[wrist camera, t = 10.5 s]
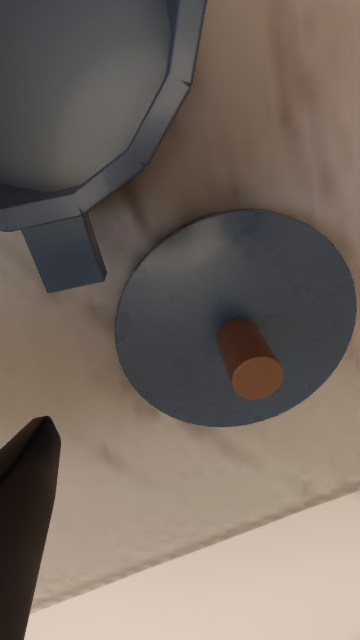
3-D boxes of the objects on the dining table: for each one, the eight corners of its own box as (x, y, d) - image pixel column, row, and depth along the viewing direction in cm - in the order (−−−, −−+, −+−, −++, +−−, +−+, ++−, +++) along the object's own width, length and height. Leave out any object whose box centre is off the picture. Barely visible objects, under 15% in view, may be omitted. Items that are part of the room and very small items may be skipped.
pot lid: (148, 433, 24) (148, 501, 19) (83, 240, 17) (58, 271, 13) (343, 392, 24) (391, 451, 19) (351, 180, 17) (428, 189, 12)
